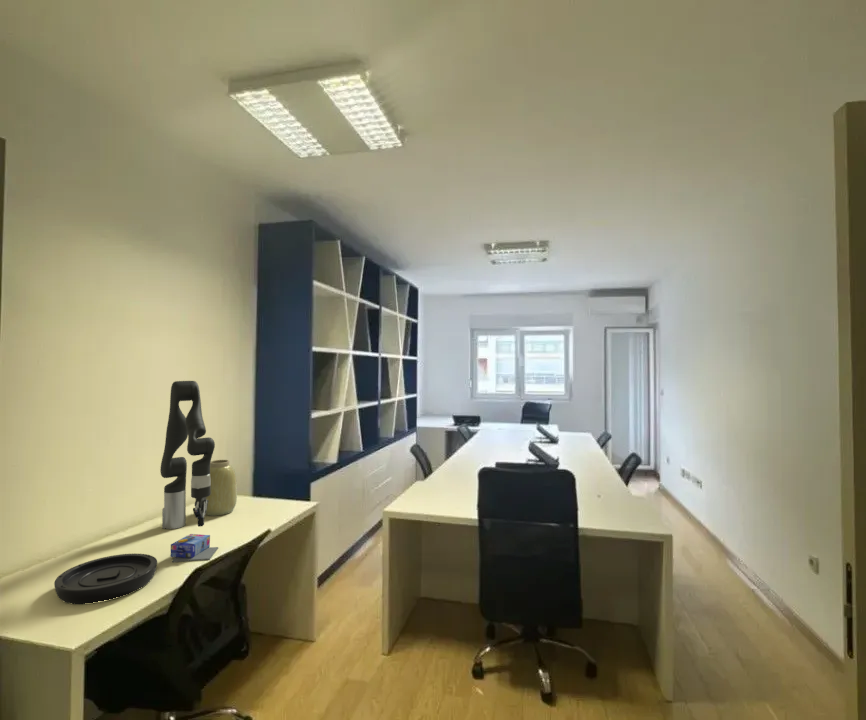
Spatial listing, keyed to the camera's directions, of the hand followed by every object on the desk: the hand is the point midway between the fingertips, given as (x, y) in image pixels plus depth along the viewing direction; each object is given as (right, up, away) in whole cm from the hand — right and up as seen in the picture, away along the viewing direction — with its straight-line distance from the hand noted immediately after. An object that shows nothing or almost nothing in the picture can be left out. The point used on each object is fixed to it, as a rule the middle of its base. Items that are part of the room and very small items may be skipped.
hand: (200, 525), depth 199 cm
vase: (-15, -11, +51) cm, 54 cm away
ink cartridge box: (-1, -7, +2) cm, 7 cm away
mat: (+1, -10, -6) cm, 12 cm away
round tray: (-17, -10, -32) cm, 38 cm away
